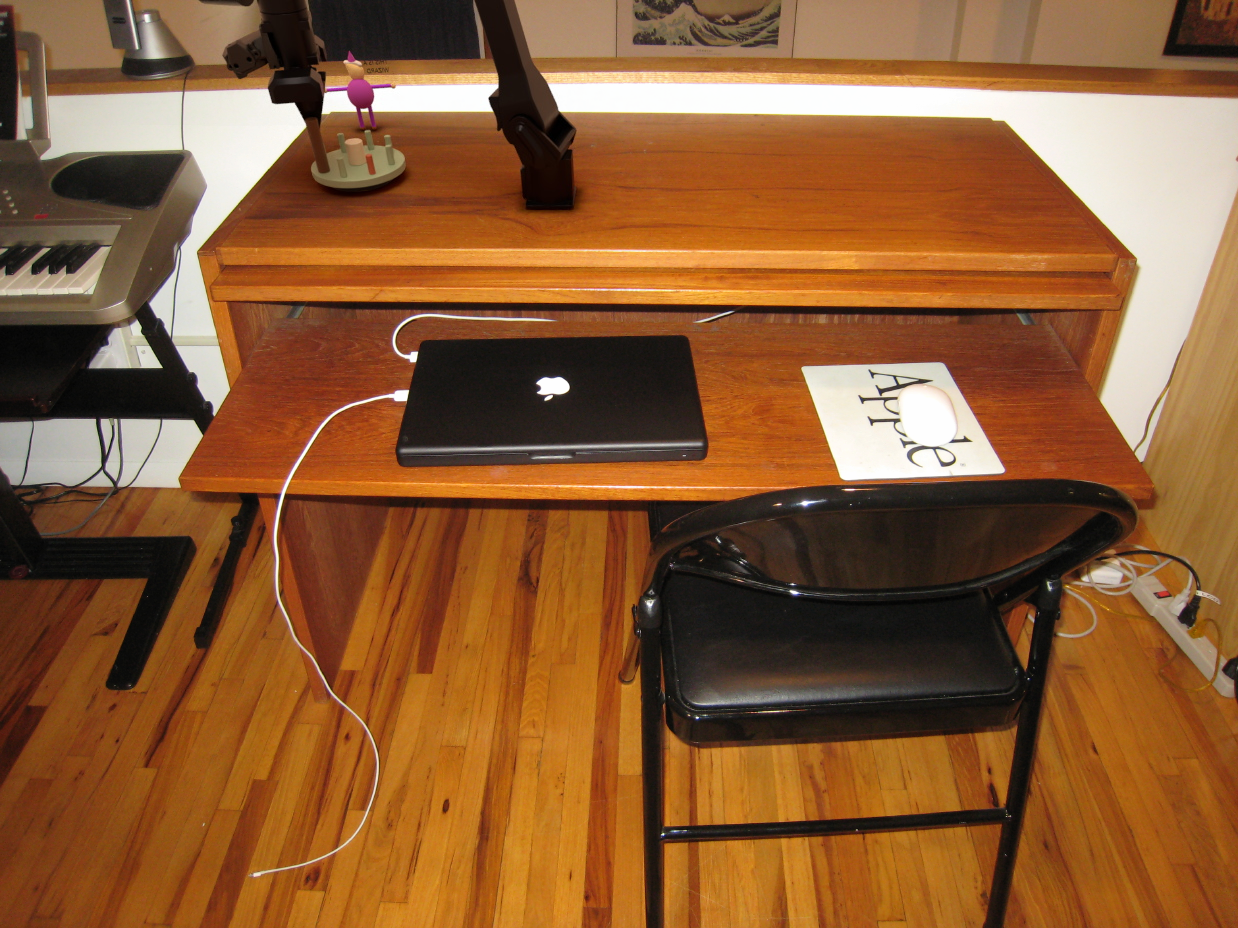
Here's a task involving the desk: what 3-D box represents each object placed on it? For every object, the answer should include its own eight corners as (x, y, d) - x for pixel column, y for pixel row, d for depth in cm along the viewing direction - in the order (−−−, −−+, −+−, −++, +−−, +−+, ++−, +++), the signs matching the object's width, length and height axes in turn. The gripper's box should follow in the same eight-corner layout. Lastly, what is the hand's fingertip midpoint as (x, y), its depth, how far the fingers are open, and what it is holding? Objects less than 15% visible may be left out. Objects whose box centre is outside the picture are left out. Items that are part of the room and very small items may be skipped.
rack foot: (400, 166, 121) (398, 159, 120) (385, 192, 114) (383, 184, 113) (339, 166, 121) (338, 159, 120) (321, 192, 114) (319, 184, 113)
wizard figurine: (403, 125, 133) (389, 45, 125) (403, 132, 131) (388, 51, 123) (333, 130, 132) (313, 50, 124) (331, 137, 130) (311, 56, 122)
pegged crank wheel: (383, 145, 123) (371, 89, 118) (421, 172, 115) (410, 113, 110) (299, 166, 118) (283, 108, 112) (333, 196, 110) (317, 135, 104)
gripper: (224, -7, 107) (260, 115, 118) (205, 34, 94) (247, 167, 104) (311, -12, 109) (339, 108, 120) (305, 28, 96) (337, 159, 106)
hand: (315, 134), depth 112 cm, fingers closed
